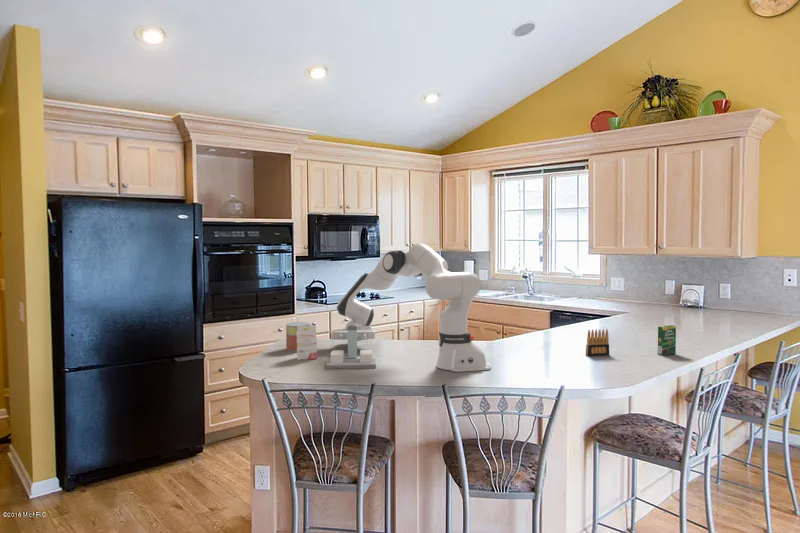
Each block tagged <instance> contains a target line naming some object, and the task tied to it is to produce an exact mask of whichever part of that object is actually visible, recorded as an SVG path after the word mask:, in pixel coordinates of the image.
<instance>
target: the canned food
mask: <svg viewBox="0 0 800 533" xmlns="http://www.w3.org/2000/svg"><path fill="white" fill-rule="evenodd" d="M298 326H311V323H309V322H304V321H303V322H301V321H299V322H298V321H297V322H289V323H288V322H287V323H286V324H285V332H286V336H285V337H286V339H285V340H286V344H285V345H286V346H285V347H286V349H285V350H286V351H288V352H296V353H297V327H298ZM303 330H310V329H308V328H306V329H303Z"/></svg>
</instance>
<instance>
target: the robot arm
mask: <svg viewBox="0 0 800 533" xmlns="http://www.w3.org/2000/svg"><path fill="white" fill-rule="evenodd" d="M398 276H402V277H417V278H418V277H422V276H424V278H425V279H426V283H425V292H426V294H427V295H428V297H429V298H430V299H432V300H438V301H447V300H448V301H449V302H448V304H447V306H446V307H445V308H444V309H443V310H442V311H441V313H440V316H439V318H440V319H439V321H440V322H439V323H440V324H439V326H440V327H439V334H438V346H439V351H438V355H437V356H438V357H437V361H436V364H435V366H436V368H438V369H440V370H445V371H451V372H455V373H456V372H457V373H459V372H460V373H461V372H476V371H478V372H479V371H490V370H491V369H492V364H491V363H490V362H488V361H487V359H486V355H485V352H484V351H483V349H481V348H480V347H479V346H477V345H476V344H475V343H474V342H473V341H474V340H475V335H473V334H471V333H469V332H468V317H469V316H468V315H469V311H470V308H471V304H472V303H473V301H474V299H475V297H476V296H477V295H478V294H479V293H480V291H481V288H482V282H481V278H480V277H479V275H477V274H476V273H473V272H469V271H458V272H454V271H453V272H452V271H449V263H448V262H447V261H446V260H445V259H444V257H442V256H441V255H440V254H439V253H438V252H436V251H435V250H434V249H433V248H431V247H429V246H428V245H426V244H425V243H419V242H418V243H414V244H413V245H411V247H410V248H409V250H408V251H405V250H404V251H403V250H392V251H388V252H387V253H385V254H384V255H383V256H382V257H381V259H380V260H379V261H378V263H377V265H376V266H375V267H374V269H373V270H372V271H371V272H365V273H363V275H361V276H360V277H359V278H358V280H357V281H356V282H355V283H354V284H353V285H352V287H351V288H350V289H349V290H348V291H347V293H346V294H344V295H343V297H341V298H340V299H339V301H338V303H337V305H336V310H337V313H338V314H339V315H341V316H343V317H345V318H348V319H349V321H348V322H347V323H346V324H345V327H344V329H333V330H332V331H331V336H330V337H331V338H330V339H331V340H334V341H335V340H337V341H338V340H342V341H343V340H345V341H346V340H347V341H348V325H357V342H361V341H365V340H366V341H367V340H375V338H376V330H375V329H374V328H373V327H372V325H371V324H372V322H373V319H374V316H375V313H374V309H373V307H372V306H371V307H370V306H369V305H367V304H365V303H363V302H362V301H360V300H357V299H355V297H357V295H359V292H361V291H362V290H367V289H368V290H369V289H370V290H375V291H384V290H388V289H390V288H391V287H392V285H393V284H394V283H395V281H396V279H397V278H398Z"/></svg>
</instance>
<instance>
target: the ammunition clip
mask: <svg viewBox="0 0 800 533" xmlns="http://www.w3.org/2000/svg"><path fill="white" fill-rule="evenodd" d="M609 340H610V339H609V329H608V328H606V329H604V328H603V329H602V331H601V329H595V331H594V329H592V330H590V329H588V331H587V338H586V345H585V346H586V347H585V356H586V357H606V356H610V341H609Z"/></svg>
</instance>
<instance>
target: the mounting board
mask: <svg viewBox="0 0 800 533" xmlns="http://www.w3.org/2000/svg"><path fill="white" fill-rule="evenodd" d="M336 368H341V369H376V368H377V362H376V358H373V350H372V349H360V350H359V358H345V353H344V349H342V350H341V349H337V350H335V349H334V350H331V352H330V358H329V359H328V360H327V363H326V369H327V370H329V369H331V370H332V369H336Z"/></svg>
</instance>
